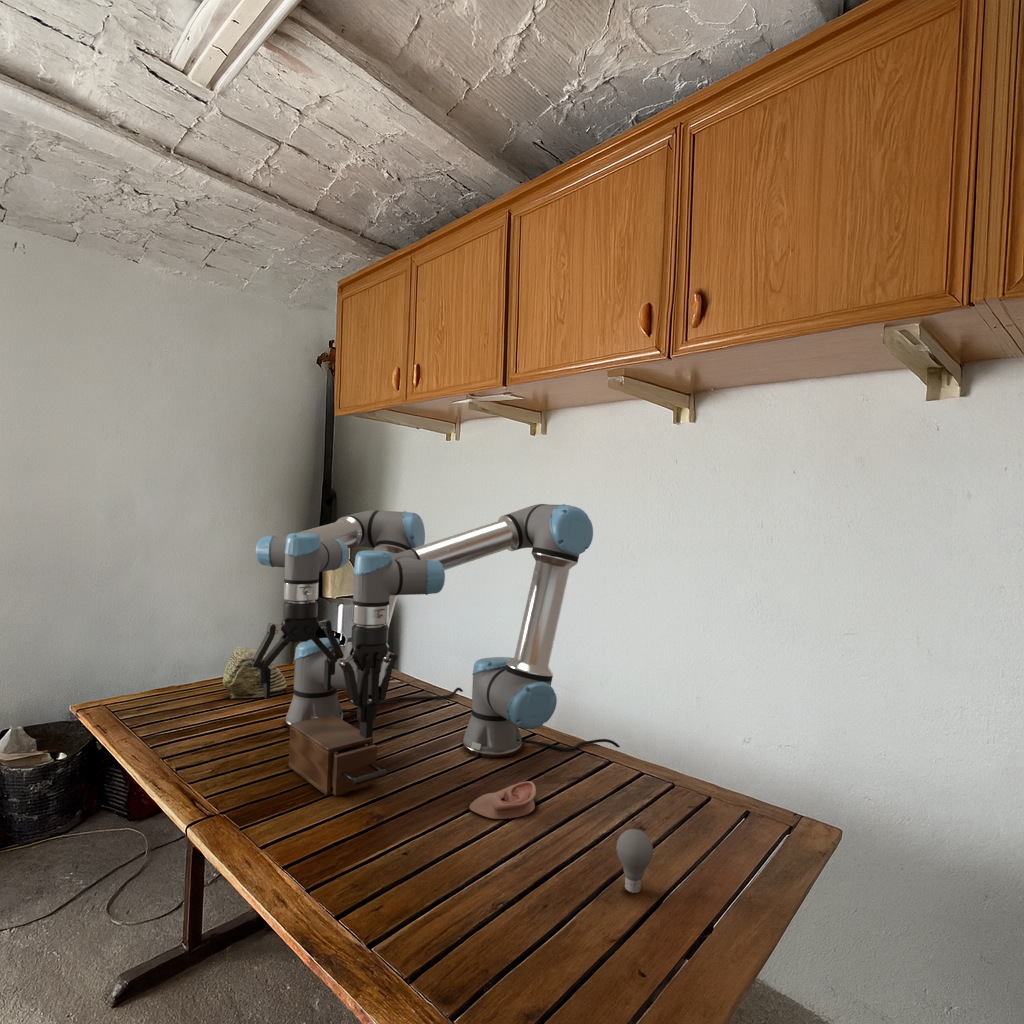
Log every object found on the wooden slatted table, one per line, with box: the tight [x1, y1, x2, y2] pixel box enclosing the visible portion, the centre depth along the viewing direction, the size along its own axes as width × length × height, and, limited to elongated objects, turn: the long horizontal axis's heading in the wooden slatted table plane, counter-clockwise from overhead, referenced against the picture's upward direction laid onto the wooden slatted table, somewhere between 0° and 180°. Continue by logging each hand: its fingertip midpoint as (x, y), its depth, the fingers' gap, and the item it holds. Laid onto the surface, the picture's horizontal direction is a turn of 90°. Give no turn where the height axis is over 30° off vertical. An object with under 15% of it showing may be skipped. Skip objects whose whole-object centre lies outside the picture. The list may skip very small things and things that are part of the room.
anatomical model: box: [468, 780, 537, 820], centre depth 133 cm, size 13×4×12 cm
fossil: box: [222, 646, 288, 699], centre depth 198 cm, size 9×18×15 cm, turn 132°
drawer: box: [331, 743, 388, 796], centre depth 140 cm, size 24×10×8 cm, turn 44°
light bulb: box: [615, 828, 654, 894], centre depth 106 cm, size 6×6×10 cm
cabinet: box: [288, 714, 374, 797], centre depth 145 cm, size 19×11×10 cm, turn 44°
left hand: (297, 693), depth 145 cm, fingers open, 13 cm apart
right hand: (365, 735), depth 133 cm, fingers closed
